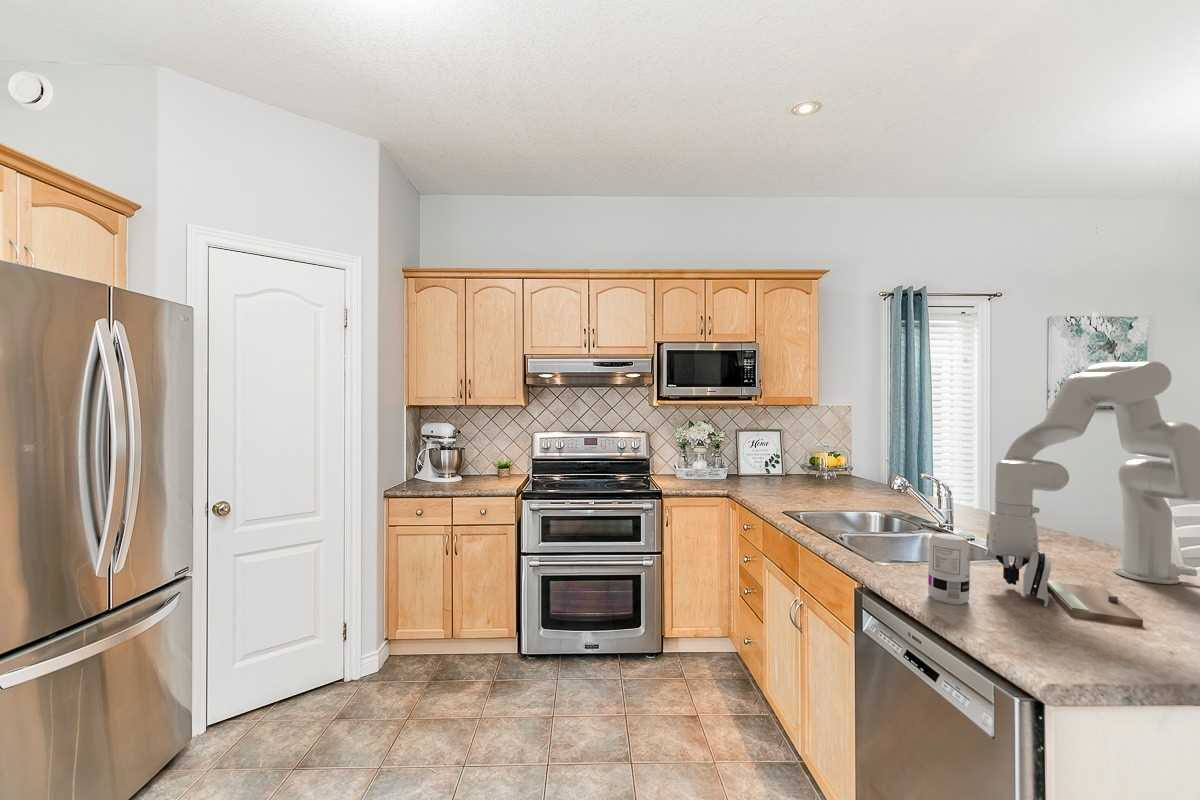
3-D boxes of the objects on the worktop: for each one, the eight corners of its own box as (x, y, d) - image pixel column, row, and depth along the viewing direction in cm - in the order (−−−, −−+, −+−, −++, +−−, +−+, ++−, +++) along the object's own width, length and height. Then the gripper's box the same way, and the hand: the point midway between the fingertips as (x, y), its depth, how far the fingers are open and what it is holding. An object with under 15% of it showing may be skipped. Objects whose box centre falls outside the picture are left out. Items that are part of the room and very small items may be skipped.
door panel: (1104, 594, 136) (1105, 583, 136) (1142, 626, 117) (1143, 614, 117) (1043, 586, 141) (1043, 576, 141) (1070, 616, 122) (1070, 604, 122)
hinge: (1046, 607, 127) (1058, 566, 125) (1021, 599, 129) (1032, 558, 128) (1044, 587, 140) (1055, 550, 139) (1021, 580, 143) (1032, 543, 141)
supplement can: (920, 593, 135) (921, 532, 135) (952, 592, 136) (953, 531, 136) (943, 606, 127) (945, 541, 127) (977, 605, 128) (978, 540, 128)
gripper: (1046, 510, 139) (1043, 583, 139) (974, 504, 146) (972, 573, 146) (1055, 516, 132) (1052, 592, 133) (980, 509, 139) (977, 582, 139)
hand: (1010, 582), depth 139 cm, fingers closed
